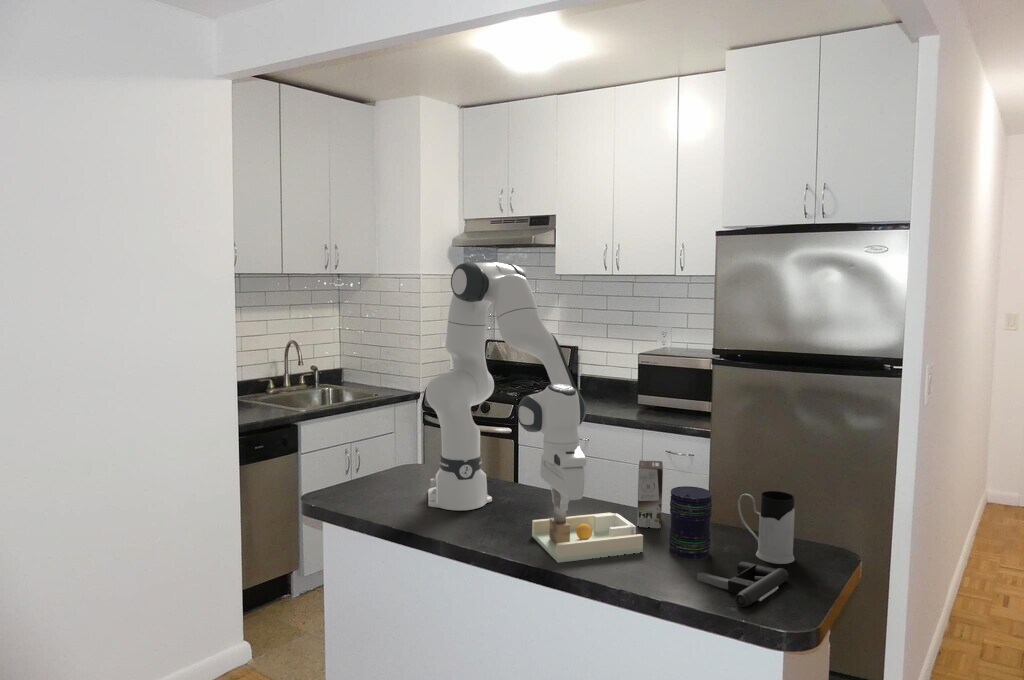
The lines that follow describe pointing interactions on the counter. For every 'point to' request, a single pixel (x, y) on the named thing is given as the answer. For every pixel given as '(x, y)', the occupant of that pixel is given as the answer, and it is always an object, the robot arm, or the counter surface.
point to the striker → (559, 523)
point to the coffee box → (650, 494)
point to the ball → (584, 531)
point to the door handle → (749, 582)
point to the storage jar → (690, 522)
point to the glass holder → (774, 526)
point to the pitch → (606, 539)
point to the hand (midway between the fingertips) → (560, 507)
